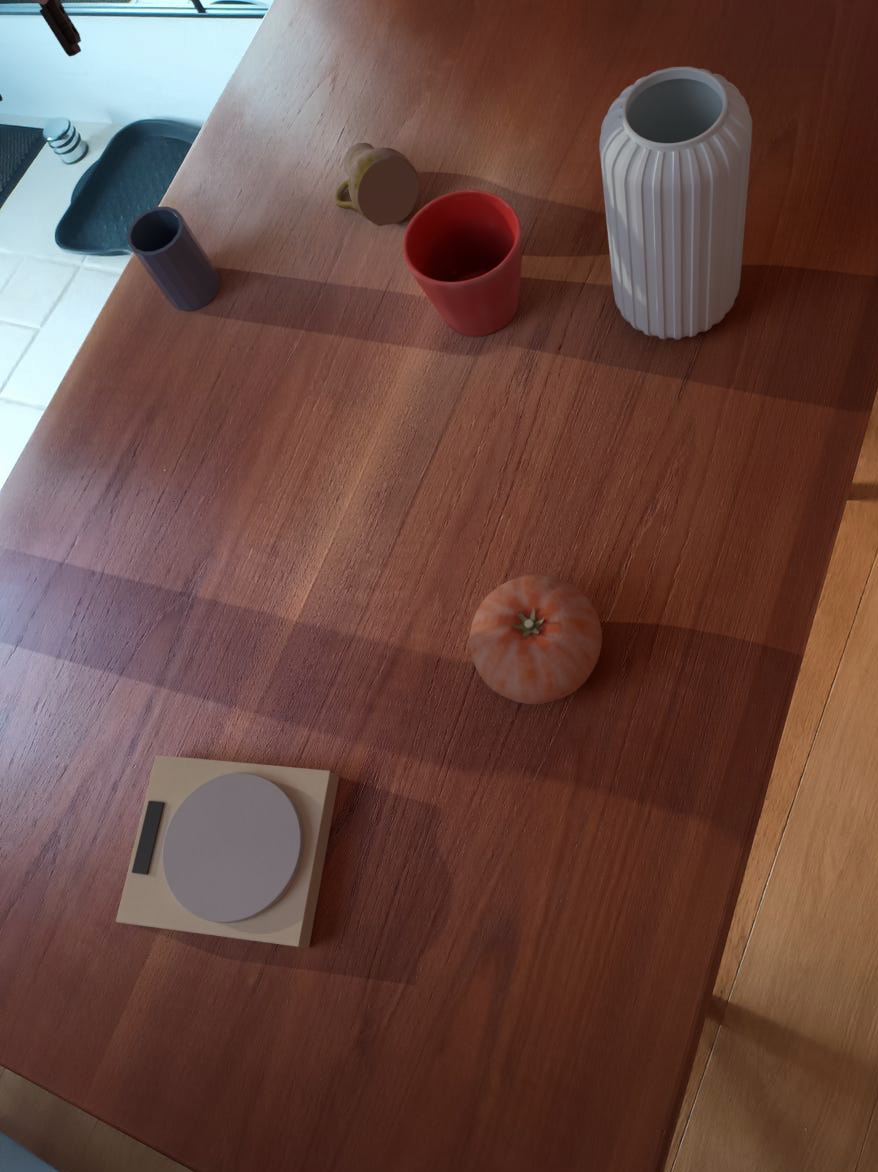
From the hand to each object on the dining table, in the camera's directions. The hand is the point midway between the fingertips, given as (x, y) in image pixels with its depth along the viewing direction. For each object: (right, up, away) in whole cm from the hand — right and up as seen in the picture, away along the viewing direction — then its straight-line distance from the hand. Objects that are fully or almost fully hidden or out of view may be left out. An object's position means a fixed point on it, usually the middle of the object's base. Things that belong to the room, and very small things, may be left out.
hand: (35, 78), depth 86 cm
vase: (+57, -17, +8) cm, 60 cm away
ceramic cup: (+8, -11, +20) cm, 24 cm away
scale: (+18, -67, -3) cm, 69 cm away
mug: (+28, -2, +20) cm, 34 cm away
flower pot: (+39, -16, +12) cm, 44 cm away
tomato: (+44, -50, -2) cm, 67 cm away
